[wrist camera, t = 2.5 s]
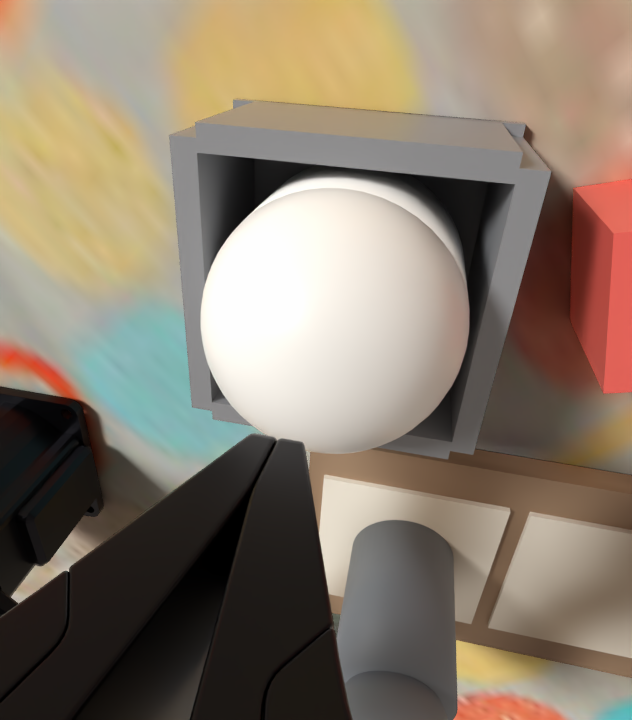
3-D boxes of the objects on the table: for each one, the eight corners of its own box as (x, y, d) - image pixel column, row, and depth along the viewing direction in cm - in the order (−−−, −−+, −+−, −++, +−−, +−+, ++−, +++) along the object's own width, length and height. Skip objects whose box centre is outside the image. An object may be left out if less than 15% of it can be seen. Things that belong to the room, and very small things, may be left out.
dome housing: (241, 340, 19) (192, 415, 15) (236, 98, 15) (167, 120, 11) (464, 373, 18) (470, 463, 14) (524, 122, 14) (555, 155, 10)
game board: (305, 587, 26) (299, 609, 25) (316, 422, 20) (310, 442, 19) (841, 700, 22) (860, 731, 21) (1020, 540, 17) (1056, 572, 16)
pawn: (348, 577, 23) (307, 816, 16) (357, 511, 21) (314, 753, 14) (443, 596, 22) (445, 854, 15) (462, 531, 20) (475, 794, 13)
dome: (248, 350, 17) (166, 485, 12) (246, 148, 14) (132, 213, 9) (442, 379, 16) (443, 537, 11) (486, 171, 13) (517, 258, 8)
